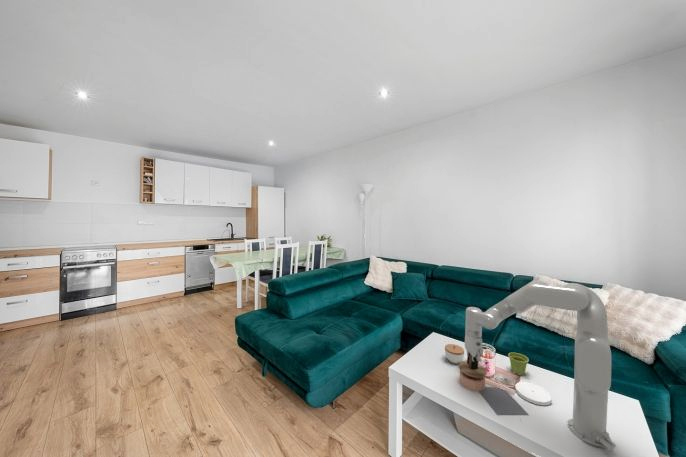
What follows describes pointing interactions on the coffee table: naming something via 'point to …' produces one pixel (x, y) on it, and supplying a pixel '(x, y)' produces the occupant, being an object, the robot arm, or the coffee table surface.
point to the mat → (502, 402)
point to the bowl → (472, 382)
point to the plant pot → (518, 363)
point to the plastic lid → (533, 393)
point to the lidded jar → (454, 353)
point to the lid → (472, 372)
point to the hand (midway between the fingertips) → (472, 366)
